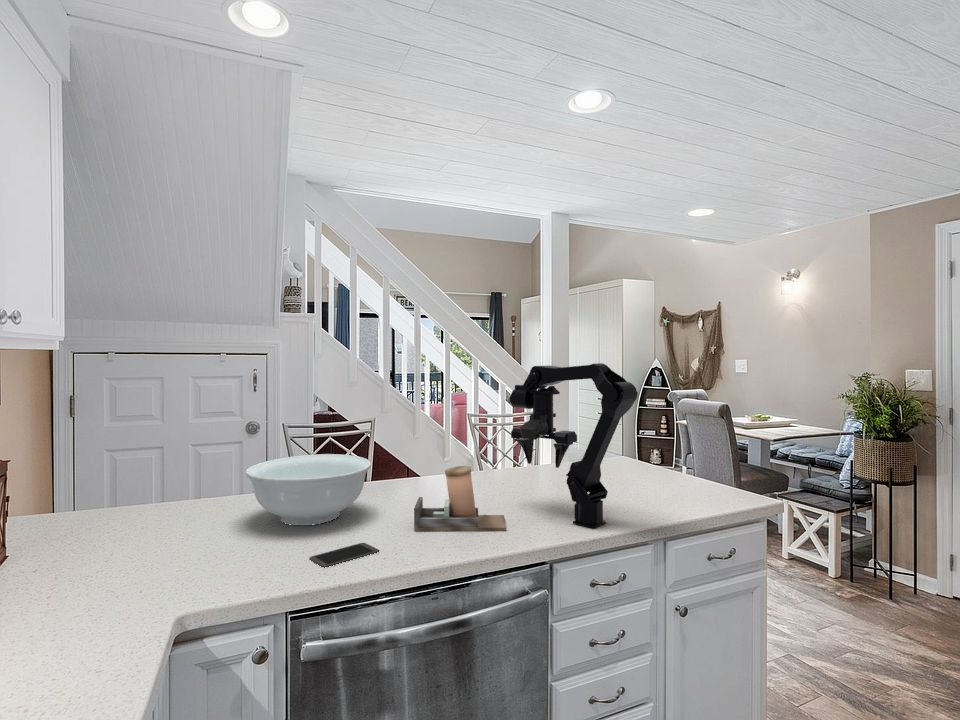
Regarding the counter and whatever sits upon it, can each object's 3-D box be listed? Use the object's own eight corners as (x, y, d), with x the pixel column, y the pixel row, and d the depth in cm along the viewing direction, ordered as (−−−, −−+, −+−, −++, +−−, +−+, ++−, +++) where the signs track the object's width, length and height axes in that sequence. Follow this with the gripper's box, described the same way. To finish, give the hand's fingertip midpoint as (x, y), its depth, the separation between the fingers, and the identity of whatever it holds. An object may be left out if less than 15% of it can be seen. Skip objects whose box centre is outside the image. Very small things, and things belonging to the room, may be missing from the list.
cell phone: (381, 553, 122) (381, 550, 122) (323, 570, 112) (323, 566, 112) (364, 545, 127) (364, 541, 127) (307, 560, 118) (307, 557, 118)
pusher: (450, 516, 145) (450, 499, 145) (448, 524, 138) (448, 506, 138) (434, 516, 145) (434, 499, 145) (432, 524, 138) (432, 506, 137)
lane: (504, 517, 147) (503, 496, 147) (506, 531, 136) (505, 507, 136) (419, 518, 147) (418, 497, 147) (414, 531, 136) (414, 508, 136)
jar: (479, 513, 144) (473, 465, 144) (474, 521, 137) (467, 470, 137) (454, 515, 145) (448, 467, 145) (448, 523, 139) (442, 473, 138)
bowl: (270, 547, 125) (269, 484, 125) (231, 516, 150) (230, 463, 150) (392, 520, 145) (392, 465, 145) (340, 496, 170) (339, 450, 170)
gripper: (499, 410, 152) (499, 466, 152) (556, 414, 140) (556, 474, 140) (522, 407, 161) (522, 460, 161) (577, 411, 149) (578, 467, 149)
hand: (543, 465), depth 152 cm, fingers open, 9 cm apart
